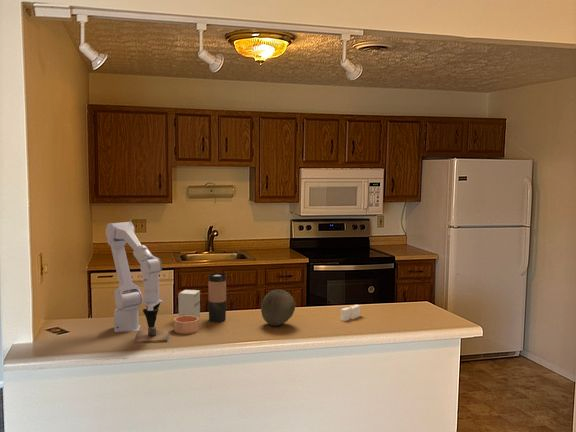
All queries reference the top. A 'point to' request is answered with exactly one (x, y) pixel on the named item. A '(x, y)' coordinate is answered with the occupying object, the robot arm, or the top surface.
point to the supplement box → (189, 303)
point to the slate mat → (152, 342)
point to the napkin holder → (350, 312)
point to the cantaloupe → (277, 307)
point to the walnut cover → (152, 336)
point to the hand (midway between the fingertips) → (152, 324)
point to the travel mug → (217, 297)
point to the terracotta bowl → (186, 324)
